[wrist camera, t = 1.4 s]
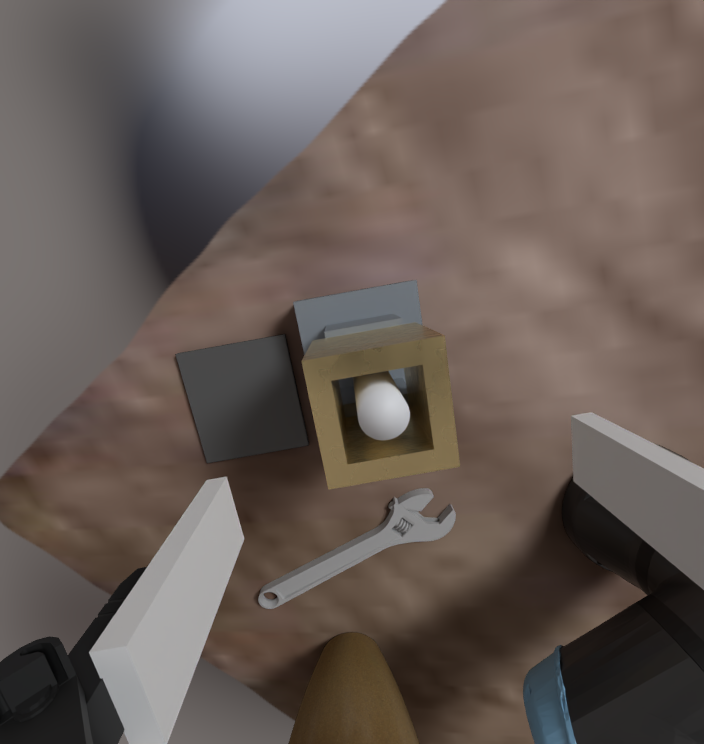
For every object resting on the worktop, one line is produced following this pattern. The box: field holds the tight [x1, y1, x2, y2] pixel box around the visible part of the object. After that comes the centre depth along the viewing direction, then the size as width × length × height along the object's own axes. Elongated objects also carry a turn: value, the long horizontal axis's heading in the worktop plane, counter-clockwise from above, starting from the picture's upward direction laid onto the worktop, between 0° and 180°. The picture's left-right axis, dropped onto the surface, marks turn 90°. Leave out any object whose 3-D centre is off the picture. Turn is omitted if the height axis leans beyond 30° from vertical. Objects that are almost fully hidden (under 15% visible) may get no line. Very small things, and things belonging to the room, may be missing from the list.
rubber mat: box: [175, 334, 309, 463], centre depth 38 cm, size 12×11×1 cm
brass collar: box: [301, 322, 460, 489], centre depth 25 cm, size 8×8×8 cm
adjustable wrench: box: [258, 488, 456, 609], centre depth 42 cm, size 25×6×2 cm, turn 116°
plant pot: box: [289, 632, 419, 744], centre depth 38 cm, size 15×15×16 cm
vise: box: [293, 280, 422, 440], centre depth 29 cm, size 14×11×17 cm
